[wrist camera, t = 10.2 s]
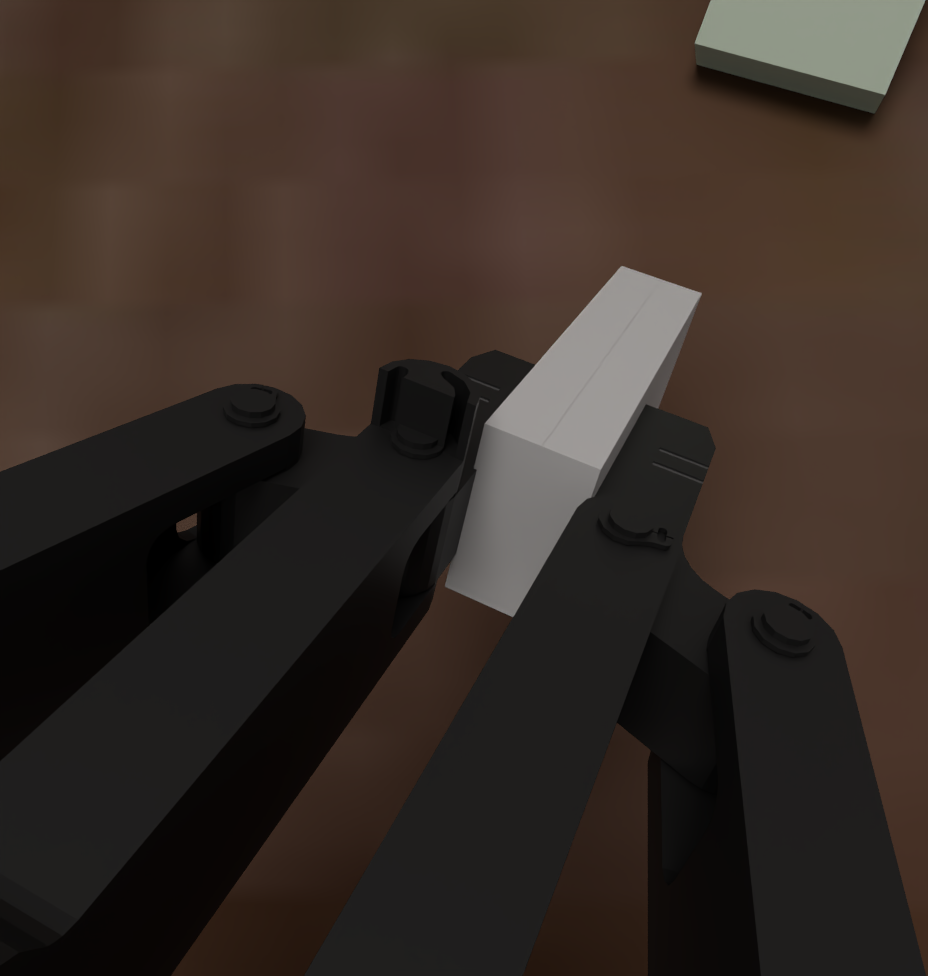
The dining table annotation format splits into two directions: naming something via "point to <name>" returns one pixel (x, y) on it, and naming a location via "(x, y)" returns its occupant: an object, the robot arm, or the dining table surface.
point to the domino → (810, 45)
